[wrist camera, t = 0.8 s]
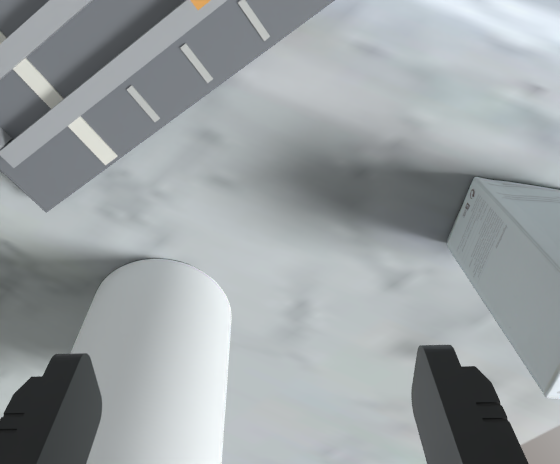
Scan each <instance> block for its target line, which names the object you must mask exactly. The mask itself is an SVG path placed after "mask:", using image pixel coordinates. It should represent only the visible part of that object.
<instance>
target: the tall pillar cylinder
mask: <svg viewBox="0 0 560 464" xmlns="http://www.w3.org/2000/svg"><path fill="white" fill-rule="evenodd" d="M230 333H231V308H230V304H229V301H228V299H227V297H226V295H225V293H224V291H223V290H222V288H221V287H220V286H219V285H218V284H217V283H216V282H215V281H214V280H213V279H212V278H211V277H210V276H208V275H207V274H206V273H204V272H203V271H201V270H199V269H197V268H195V267H193V266H191V265H188V264H185V263H182V262H179V261H174V260H168V259H145V260H139V261H135V262H132V263H129V264H126V265H124V266H122V267H120V268H118V269H116V270H115V271H113V272H112V273H111V274H110V275H108V276H107V277H106V278H105V279H104V281H103V282H102V283H101V285H100V286H99V288H98V290H97V292H96V294H95V296H94V299H93V301H92V303H91V306H90V308H89V310H88V313H87V315H86V317H85V320H84V322H83V324H82V327H81V329H80V331H79V334H78V336H77V338H76V341H75V343H74V346H73V348H72V350H71V353H70V354H80V353H87V354H88V355H89V356H90V358H91V361H92V365H93V368H94V372H95V375H96V379H97V382H98V386H99V389H100V393H101V397H102V415H101V420H100V424H99V427H98V430H97V433H96V436H95V439H94V442H93V445H92V448H91V451H90V454H89V457H88V460H87V463H86V464H221V463H222V449H223V434H224V420H225V405H226V391H227V376H228V362H229V347H230Z"/></svg>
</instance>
